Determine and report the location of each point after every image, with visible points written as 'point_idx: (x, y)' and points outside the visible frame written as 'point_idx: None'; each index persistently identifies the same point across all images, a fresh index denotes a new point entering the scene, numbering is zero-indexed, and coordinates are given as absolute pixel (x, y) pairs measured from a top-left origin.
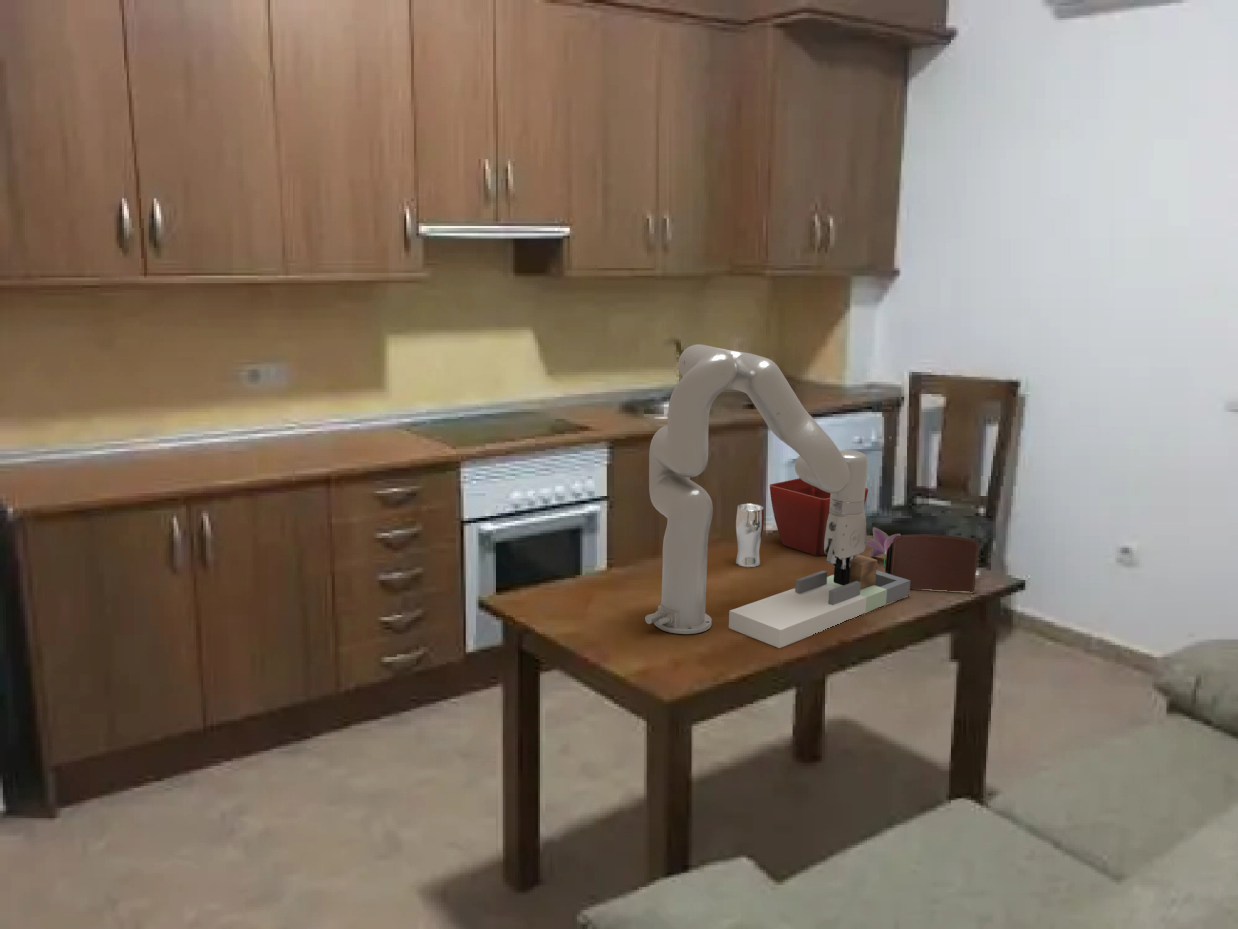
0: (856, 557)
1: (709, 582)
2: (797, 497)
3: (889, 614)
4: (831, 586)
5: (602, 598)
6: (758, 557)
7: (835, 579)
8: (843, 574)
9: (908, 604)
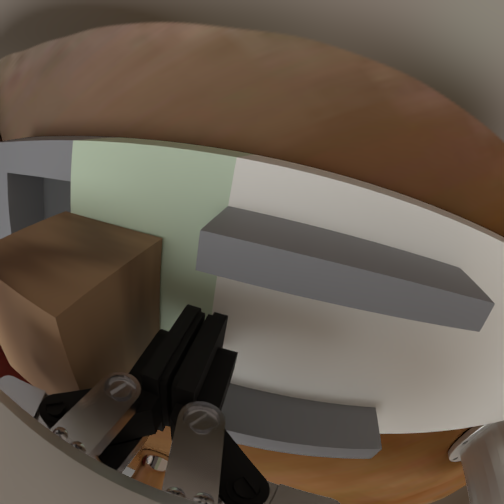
0: (25, 362)
1: (289, 483)
2: None
3: (189, 79)
4: None
5: (412, 493)
6: (147, 462)
7: (231, 376)
8: (207, 372)
9: (72, 96)
